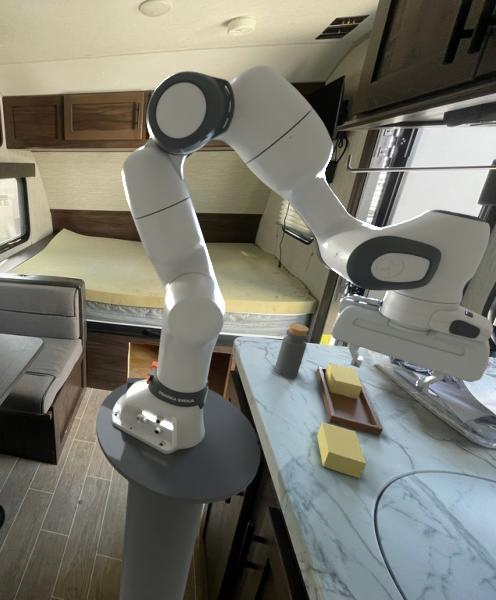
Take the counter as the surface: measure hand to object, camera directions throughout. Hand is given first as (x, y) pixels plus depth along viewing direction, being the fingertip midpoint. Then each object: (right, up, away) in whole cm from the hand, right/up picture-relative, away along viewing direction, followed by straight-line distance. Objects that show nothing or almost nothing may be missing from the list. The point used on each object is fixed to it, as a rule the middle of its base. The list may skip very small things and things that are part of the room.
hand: (386, 376), depth 60 cm
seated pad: (+13, -9, +28) cm, 32 cm away
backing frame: (+10, -12, +24) cm, 28 cm away
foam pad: (-4, -18, +7) cm, 20 cm away
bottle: (+2, -7, +35) cm, 36 cm away
